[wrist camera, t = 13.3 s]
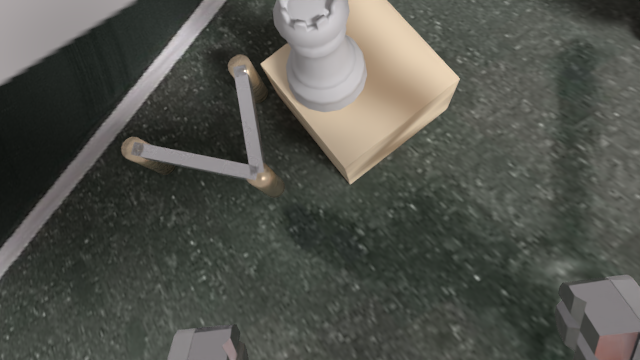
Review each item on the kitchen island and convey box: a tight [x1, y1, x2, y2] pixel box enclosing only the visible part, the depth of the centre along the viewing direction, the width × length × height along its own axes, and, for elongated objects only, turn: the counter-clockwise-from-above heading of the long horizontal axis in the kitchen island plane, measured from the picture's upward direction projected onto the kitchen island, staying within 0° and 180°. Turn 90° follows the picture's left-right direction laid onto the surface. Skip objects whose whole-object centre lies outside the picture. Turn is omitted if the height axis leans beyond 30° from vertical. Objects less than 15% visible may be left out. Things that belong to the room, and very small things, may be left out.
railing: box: [121, 55, 285, 198], centre depth 30 cm, size 9×7×4 cm
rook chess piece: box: [273, 0, 367, 112], centre depth 23 cm, size 4×4×8 cm
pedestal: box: [261, 0, 460, 184], centre depth 29 cm, size 8×8×5 cm
